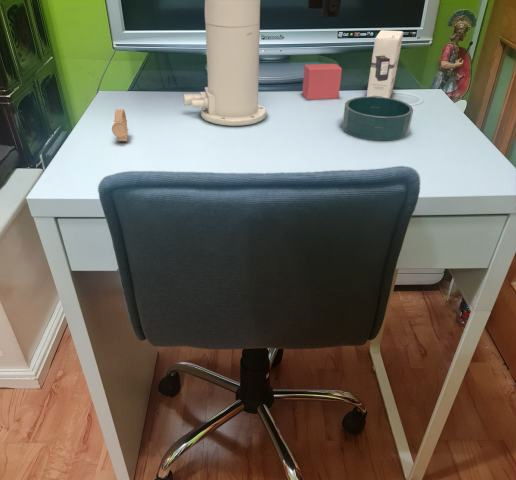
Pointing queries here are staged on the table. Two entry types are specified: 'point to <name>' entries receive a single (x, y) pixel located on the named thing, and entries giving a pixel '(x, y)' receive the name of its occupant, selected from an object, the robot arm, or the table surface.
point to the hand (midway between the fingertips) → (322, 12)
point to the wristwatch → (120, 125)
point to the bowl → (377, 118)
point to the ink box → (384, 63)
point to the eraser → (321, 81)
